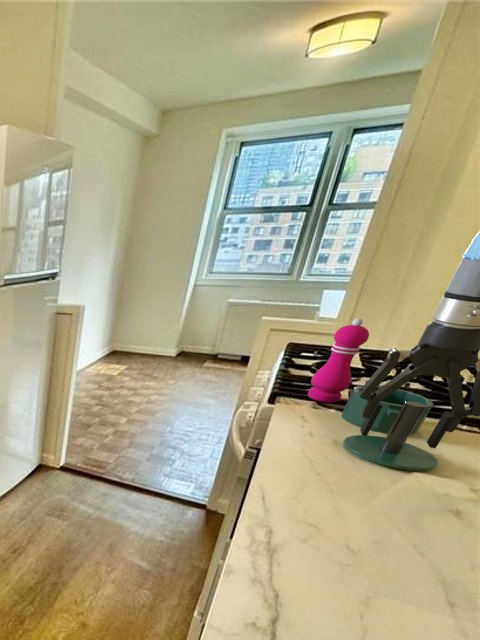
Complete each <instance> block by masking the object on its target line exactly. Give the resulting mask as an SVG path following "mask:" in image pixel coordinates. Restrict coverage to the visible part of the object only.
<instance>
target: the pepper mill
mask: <svg viewBox="0 0 480 640" xmlns="http://www.w3.org/2000/svg"><path fill="white" fill-rule="evenodd" d="M363 323H364V321H363V319H362V318H354V320H352V322H351V324H347V325H346V324H345V325H343V326H341V327H340V328H338V329H337V330H336V331H335V332H334V335H333V340H334V343H333V344H332V347H331V355H330V356H329V358H328V360H327V362H326V363H325V364H324V365H323V366H322V367H320V368H319V369H318V370H317V371H316V372H314V374H313V376H312V377H311V381H310V383H311V385H312V387H310V388H309V390H308V392H307V397H308V396H309V397H308V398H310V399H311V400H315V401H318V402H321V401H322V403H331V404H334V403H333V402H335V403H337V402H336V401H338V402H340V400H341V398H342V396H343V394H342V393H341V392H343V391H346V390H347V389H348V388H349V387H350V384H351V381H352V374H351V363H352V361H353V359H354V357H355V355H357V354H359V351H360V350H361V346H362V345H364V344H365V343H367V342H368V340H369V337H370V332H369V330H368V329H367V328H366V327H364V326H362V325H363Z"/></svg>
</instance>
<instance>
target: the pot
mask: <svg viewBox="0 0 480 640" xmlns="http://www.w3.org/2000/svg"><path fill="white" fill-rule="evenodd" d="M363 386H364V385H358V386H356V387H354V388H353V389H352V391H351V394H350V396H349V397H348V400H347V402H346V404H345V406H344V408H343V410H342V414H341V417H342V419H343V420H345V421H346V422H348V423H349V424H351V425H353V426H356V427H359V428H361V427H362V425H363V423H364V421H365V419H366V418H363V416H362V411H363V409H364V407H365V405H366V403H367V400H365V399H362V398H361V397H360V395H359V393H358V392H359V390H360V389H361V388H362V387H363ZM382 386H383V385H378V387H377V388H376V389H375V390H374V391H373V392H372V393H374V392H375V391H377V390H378V389H379V388H381V387H382ZM408 401H410V402H417V403H421V404H423V405H425V406H426V407H425V409H424V410H423V412H422V414H421V416H420V417H419V419H418V421H417V423H416V424H415V426H414V428H413V430H412V431H411V433H410V435H414V434H416V433H418V431H419V430H420V428H421V427H422V425H423V423H424V422H425V420H426V418H427V417H428V415H429V413H430V411H431V410H432V408H433V406H434V402H433V401H432V400H431V399H430V398H427V397H425V396H423V395H421V394H417V393H414V392H412V391H409V390H403V389H400V388H399V389H397V390H396V391H394V392H393V393H391V394H390V395H389V396H387V397H386V398H384V399H383V400H382V401H380V402H381V404H382V408H381V410H380V412H379V414H378V416H377V418H376V420H375V421H374V423H373V425H372V427H371V429H370V431H371V432H375V433H376V432H377V433H380V434H386V435H387V434H388V433H389V431H390V429H391V427H392V425H393V423H394V422H395V420H396V418H397V416H398V414H399V412H400V411H401V409H402V407H403V405H404V403H405V402H408ZM410 435H409V436H410Z"/></svg>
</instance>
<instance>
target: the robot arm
mask: <svg viewBox="0 0 480 640" xmlns="http://www.w3.org/2000/svg"><path fill="white" fill-rule="evenodd" d="M431 318H432V319H433V321H431V322H429V323H427V325H426V327H425V329H424V331H423V332H422V335H421V336H420V338H419V341H418V342H417V344H416V345H415V346H414V347H412V348H410V350H409V349H398V348H397V347H392V348H389V350H388V352H387V354H386V359H384V361H383V362H382V363H381V364H380V366H379V367H378V368H377V370H375V371H374V373H373V374H372V375H371V376H370V377H369V379H368V380H366V382H365V383H364V384H363V385H362V386H363V387H362V388H361V389H360V390H359V392H358V393H359V395H360V397H361V398H362V399H365V400H367V403H366V405H365V407H364V409H363V411H362V416H363V418H366V419H365V421H364V423H363V425H362V427H360V429H359V431H360V435H365V436H367V435H368V436H369V433H370V431H371V430H370V429H371V427H372V425H373V423H374V421H375V420H376V418H377V416H378V414H379V412H380V410H381V408H382V404H381V402H380V401H382V400H383V399H384V398H386V397H387V396H389V395H390V394H391V393H393V392H394V391H396V390H397V389H400V388H401V387H403V386H405V385H406V384H407V383H409V382H410V381H412V380H414V379H416V378H418V377H419V376H421V375H422V376H428V377H429V376H431V377H432V376H435V377H439V378H443V379H446V381H447V382H446V383H447V387H448V393H449V394H448V395H449V400H450V406H451V411H447V410H446V411H444V412H443V413H442V415H441V417H440V419H439V420H438V421H437V424H436V426H435V427H434V429H433V431H432V432H431V434H430V435H429V437H428V439H427V440H426V443H427V446H428V448H431V449H437V447H438V446H439V444H440V442H441V441H442V440H443V437H444V435H445V434H446V433H453V432H455V431H456V430H457V427H458V426H459V425H460V423H461V421H462V420H463V419H466V418H467V417H480V357H479V353H480V231H478V233H477V234H476V235H475V236H474V238H473V239H472V241H471V242H470V244H469V245H468V247H467V249H466V251H465V252H464V253H463V254H462V258H461V261H460V262H459V264H458V266H457V268H456V270H455V272H454V274H453V276H452V279H451V280H450V282H449V284H448V286H447V288H446V290H445V292H444V293H443V295H442V297H441V299H440V301H439V303H438V304H437V307H436V308H435V310H434V312H433V314H432V316H431ZM406 358H409V359H410V361H411V364H410V365H408V366H406V367H405V369H403V371H402V372H399V374H397V375H396V376H394V377H393V378H392V379H390V380H389V381H388V382H386V383H385V384H383V385H381V386H382V387H381V388H379V389H378V390H377V391H375V392H374V393H372V392H373V391H374V390H375V389H376V388H377V387H378V386H380V384H382V382H383V381H384V380H385V379H386V378H387V377H388V376H389V374H390V373H391V372H392V371H393V370H394V369H395V368H396V367H397V364H398V363H402V362H403V361H404V360H405V359H406ZM472 366H475V367H474V369H475V370H476V371H477V372H476V374H475V378H474V383H473V386H472V391H471V395H470V399H469V403H468V406H465V398H464V393H463V386H462V376H461V372H463V371H465V370H467V369H469V368H470V367H472Z"/></svg>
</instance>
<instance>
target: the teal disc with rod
mask: <svg viewBox="0 0 480 640" xmlns="http://www.w3.org/2000/svg"><path fill="white" fill-rule="evenodd" d="M425 407H426V406H425V405H423V404H421V403H417V402H410V401H408V402H405V403H404V405H403V407H402V409H401V411H400V412H399V414H398V416H397V418H396V420H395V422H394V423H393V425H392V427H391V429H390V431H389V433H388V434H386V436H385V437H383V436H377V435H369V434H368V435H367V436H365V435H362V434H355V435H350V436H348V437H346V438H345V439H344V440H343V442H342V444H343V446H344V448H345V449H346V450H348V451H349V452H351V454H354V455H356V456H358V457H360V458H362V459H364V460H367V461H369V462H373V463H375V464H379V465H382V466H385V467H390V468H395V469H399V470H400V469H401V470H407V471H418V472H419V471H420V472H422V471H431V470H434V469H435V468H437V466H438V465H439V460H438V459H437V457H436V456H434V455H433V454H432V453H430V452H429V451H426V450H425V449H423V448H420V447H419V446H415V445H413V444H410V443H407V440H408V439H409V437H410V433H411V431H412V430H413V428H414V426H415V424H416V423H417V421H418V419H419V417H420V416H421V414H422V412H423V410H424V409H425Z"/></svg>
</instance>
